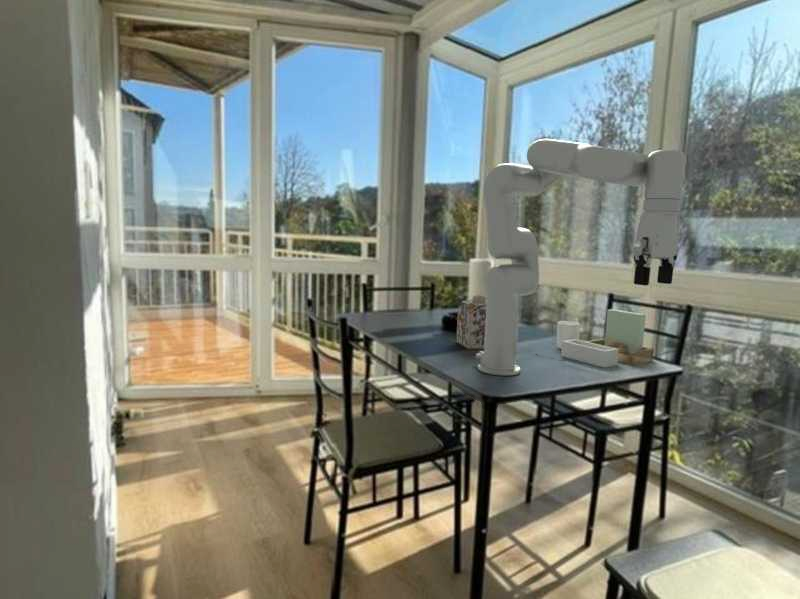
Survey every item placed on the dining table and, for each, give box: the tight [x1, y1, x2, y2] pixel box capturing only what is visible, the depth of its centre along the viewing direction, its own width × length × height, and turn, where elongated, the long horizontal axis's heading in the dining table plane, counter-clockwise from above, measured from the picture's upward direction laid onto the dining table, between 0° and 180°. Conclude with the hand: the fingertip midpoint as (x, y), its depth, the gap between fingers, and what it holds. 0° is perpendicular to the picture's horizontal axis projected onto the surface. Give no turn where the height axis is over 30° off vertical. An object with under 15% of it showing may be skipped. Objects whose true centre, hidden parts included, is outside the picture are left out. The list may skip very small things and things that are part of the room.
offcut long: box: [618, 351, 628, 355], centre depth 179 cm, size 8×3×2 cm, turn 36°
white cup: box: [556, 320, 581, 350], centre depth 189 cm, size 8×8×10 cm
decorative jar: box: [456, 294, 486, 350], centre depth 191 cm, size 12×12×18 cm
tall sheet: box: [604, 308, 647, 356], centre depth 179 cm, size 12×3×15 cm, turn 36°
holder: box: [560, 339, 619, 368], centre depth 172 cm, size 16×7×6 cm, turn 36°
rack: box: [585, 337, 655, 366], centre depth 178 cm, size 18×12×5 cm, turn 36°
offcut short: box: [608, 342, 627, 352], centre depth 178 cm, size 5×3×2 cm, turn 36°
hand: (652, 284), depth 122 cm, fingers open, 9 cm apart
